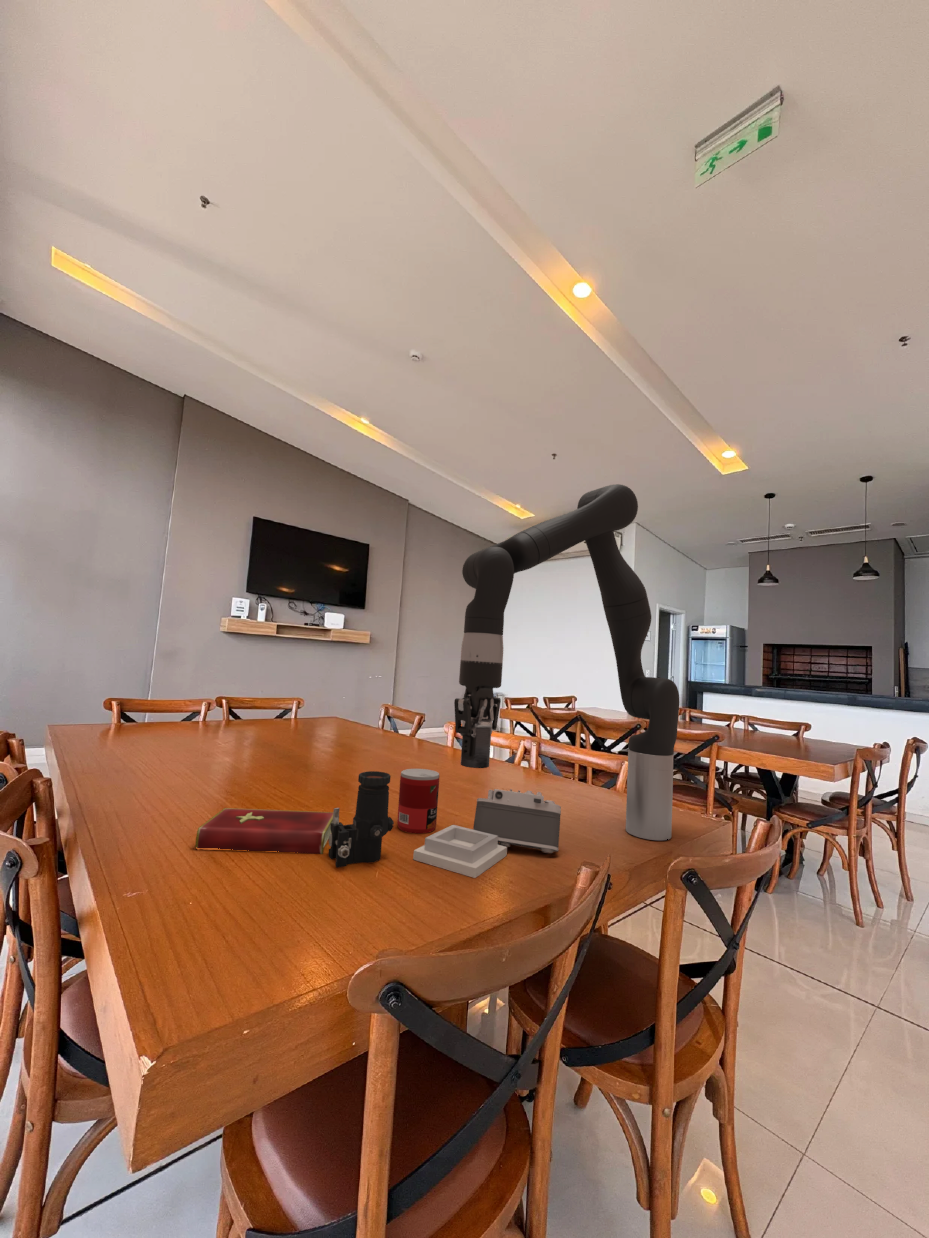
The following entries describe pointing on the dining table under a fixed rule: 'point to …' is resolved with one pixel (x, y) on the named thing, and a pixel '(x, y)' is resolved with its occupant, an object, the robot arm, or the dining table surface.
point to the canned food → (418, 800)
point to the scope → (363, 823)
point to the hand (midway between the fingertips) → (475, 756)
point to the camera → (519, 819)
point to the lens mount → (461, 850)
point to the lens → (481, 746)
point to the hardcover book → (266, 830)
